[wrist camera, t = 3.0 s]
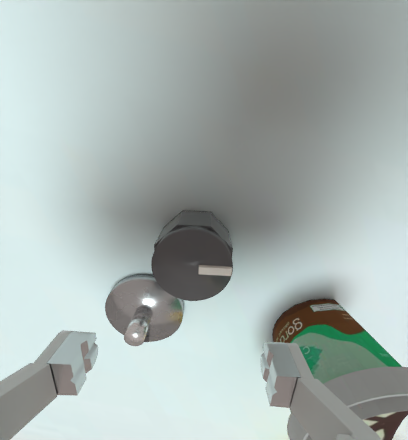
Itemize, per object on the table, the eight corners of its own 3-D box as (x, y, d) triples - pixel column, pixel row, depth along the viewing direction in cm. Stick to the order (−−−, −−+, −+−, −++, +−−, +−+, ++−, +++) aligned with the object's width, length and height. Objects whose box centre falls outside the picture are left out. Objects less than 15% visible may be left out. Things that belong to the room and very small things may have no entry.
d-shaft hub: (105, 272, 21) (82, 300, 17) (184, 276, 21) (179, 305, 17) (113, 331, 23) (95, 367, 20) (183, 335, 23) (178, 371, 20)
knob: (164, 267, 20) (151, 301, 16) (163, 209, 18) (148, 229, 14) (224, 270, 20) (229, 305, 16) (230, 213, 18) (237, 234, 14)
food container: (283, 276, 20) (348, 387, 11) (341, 288, 21) (451, 405, 11) (248, 361, 25) (273, 493, 15) (296, 369, 25) (350, 505, 15)
